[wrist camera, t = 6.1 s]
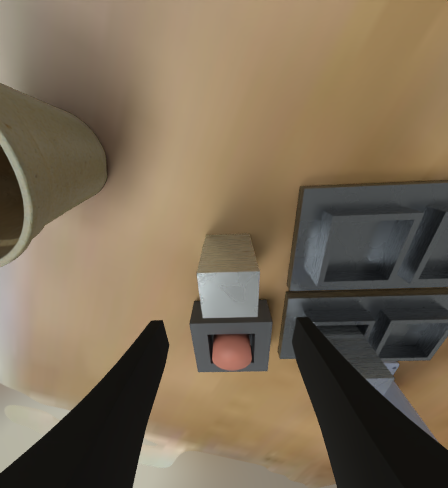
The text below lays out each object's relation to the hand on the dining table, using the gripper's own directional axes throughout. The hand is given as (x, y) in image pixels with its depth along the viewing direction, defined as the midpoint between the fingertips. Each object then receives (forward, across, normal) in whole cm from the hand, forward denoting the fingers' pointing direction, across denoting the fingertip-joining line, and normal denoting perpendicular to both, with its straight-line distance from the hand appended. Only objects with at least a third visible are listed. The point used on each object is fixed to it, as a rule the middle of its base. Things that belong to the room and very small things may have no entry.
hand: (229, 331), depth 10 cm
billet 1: (+9, 0, 0) cm, 9 cm away
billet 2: (+8, -11, +10) cm, 17 cm away
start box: (+9, 0, +10) cm, 13 cm away
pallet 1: (+9, -15, -1) cm, 17 cm away
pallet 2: (+9, -15, +10) cm, 20 cm away
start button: (+7, 0, +10) cm, 12 cm away
